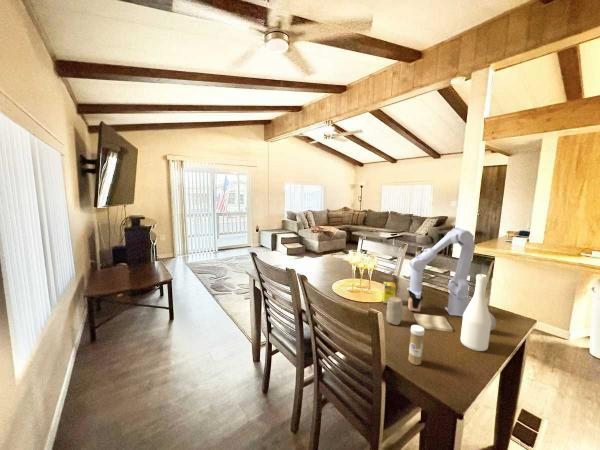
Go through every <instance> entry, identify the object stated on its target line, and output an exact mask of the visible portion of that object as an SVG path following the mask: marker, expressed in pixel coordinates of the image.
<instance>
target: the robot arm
mask: <svg viewBox="0 0 600 450" xmlns="http://www.w3.org/2000/svg"><path fill="white" fill-rule="evenodd" d="M474 237H475V236H474V235H473V233H472V232H471V231H469V230H467V229H463V228H459V227H453V228H452V229H451V230H450V231H448V232H447V233H445V235H444V237H442V238H441V239H440V240H439V241H438V242H437V243H436V244H434V246H432V247H428V248H425V249H423V251H422V252H421V253H420V254H419V255H417V256H416V257H414V258H412V259H411V260H410V261H409V266H410V267H411V268H410V279H409V287H407V288H406V290H407V291H408V294H409V298H412V305H413V308H415V309H418V306H419V303H420V302H422V300H423V298H424V297H423V296H422V295H421V294H422V292H423V290H422V289H423V277H424V270H425V269H426V266H427V265H428V264H430V262H432V261H433V260H434V259H436V258H437V257H438V256H437V255H438V253H439V252H441V251H442V250H443V249H445V248H447V247H448V246H449V245H451V244H458V245H459V246H460V248H461V249H460V253H459V258H458V261H457V266H456V270H455V274H454V276H453V277H451V279H450V281H449V282H448V284H447V289H448V291H449V293H448V301H447V302H448V304H447V305H448V306H445V307H444V309H445V310H446V312H447V313H448V314H449V315H450V316H459V317H463V314H464V312H465V310H466V308H467V307H468V305H469V303H470V301H471V298H470V297H469V295H470V291H469V286H470V285H469V283H468V276H469V273H470V268H471V265H472V261H473V256H474V252H475V248H476V244H475V240H474Z"/></svg>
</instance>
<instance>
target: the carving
mask: <svg viewBox="0 0 600 450" xmlns="http://www.w3.org/2000/svg"><path fill="white" fill-rule="evenodd" d="M403 305H404V304H403V300H402V299H401V298H400V297H398V296H395V297H390V298H389V299H388V303H387V304H386V308H387V309H386V311H385V313H386V316H385V319H386V322H387V323H389V324H392V325H396V326H398V325H401V321H402V318H403V317H402V316H403Z"/></svg>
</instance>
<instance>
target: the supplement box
mask: <svg viewBox="0 0 600 450" xmlns="http://www.w3.org/2000/svg"><path fill="white" fill-rule="evenodd" d="M382 285H383V287H382V303H383V305H387V303H388V299H389V298H390V297H396V288H397V286H396V283H395V282H391V281H390V282H388V281H383V284H382Z"/></svg>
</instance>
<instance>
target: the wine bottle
mask: <svg viewBox="0 0 600 450" xmlns="http://www.w3.org/2000/svg"><path fill="white" fill-rule="evenodd" d="M475 280H476V281H475V288H474V289H475V290H474V293H473V296H472V298H471V299H470V303H469V305H468V307H467V308H466V310H465V312H464V314H463V316H462V321H461V322H462V323H461V330H460V339H459V340H460V342H461V344H462V345H463V346H464V347H466V348H468V349H470V350H473V351H476V352H484V351H487V350H488V348H489V343H490V335H491V331H490V328H491V318H490V314H489V313H490V310H489V308H488V304H487V299H486V287H487V282H488V277H487V275H486V274H482V273H477V274H476V275H475Z"/></svg>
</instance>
